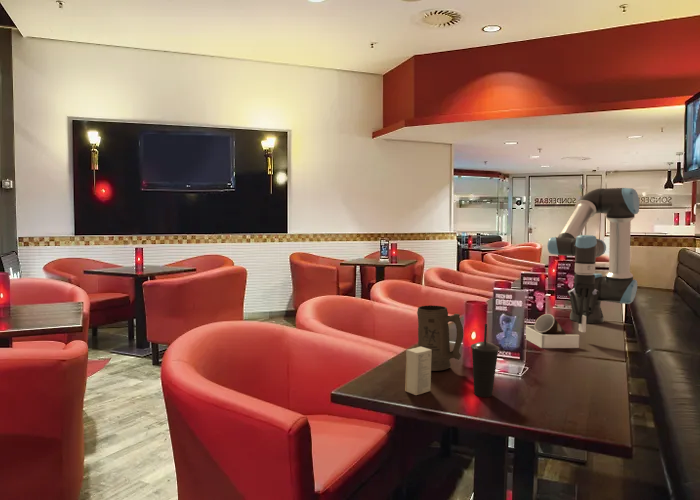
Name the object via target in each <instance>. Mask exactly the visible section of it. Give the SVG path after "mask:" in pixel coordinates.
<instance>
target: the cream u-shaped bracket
mask: <svg viewBox="0 0 700 500" xmlns="http://www.w3.org/2000/svg"><path fill="white" fill-rule="evenodd" d="M525 325H526V339H525V340H526V341H528V342H529V343H532V344H534V345H535V346H537V347H538V348H540V349H579V347H580V335H579V334H566V335H543V334H541V333H539V332H537V331H536V330H535V327H534V326H535V324H525Z"/></svg>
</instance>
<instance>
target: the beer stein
mask: <svg viewBox="0 0 700 500" xmlns="http://www.w3.org/2000/svg"><path fill="white" fill-rule="evenodd" d="M416 314H417V324H418V328H417V336H418V337H417V338H418V341H417V343H418V344H417V347H420V346H421V347H425V348H428V349H431V350H432V354H431V372H432V371H433V372H434V371H435V372H436V371H437V372H438V371H444V370H445V371H446V370H448V369H449V368H451V361H450V360H451V359H456V360H458V361H459V360H461V356H462V355H461V354H460V353H461V352H460V348H461V345H462V343H463V340H464V328H463V324H462V321H461V314H460V313H454V314H453V315H452V314H451V315H449V312H448V308H447V307H446V306H443V305H442V306H441V305H432V304H431V305H421V306H418V307H417V311H416ZM450 322H451V323H454V325H455V328H456V338H455V341H454V345H453V350H451V344H450V343H451V342H450V341H451V340H450V327H449V323H450Z"/></svg>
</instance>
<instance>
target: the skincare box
mask: <svg viewBox="0 0 700 500" xmlns="http://www.w3.org/2000/svg"><path fill="white" fill-rule="evenodd" d="M431 354H432V350H431V349H428V348H425V347H421V346H420V347H418V346H417V347H413V348H407V349H406V352H405V381H404V383H405V386H404V390H405V392H407V393H408V394H412V395H414V396H417V395H422V394H424V393H428V392H431V384H432V383H431V381H432V379H431V378H432V371H431Z"/></svg>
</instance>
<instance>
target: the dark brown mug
mask: <svg viewBox="0 0 700 500" xmlns="http://www.w3.org/2000/svg"><path fill="white" fill-rule="evenodd" d="M534 325H535V326H534V327H535V330H536V331H537V332H539V333H541V334H543V335H567V334H566V331H565V330H564V328H563V327H562V326H561V324H560V323H559V322H558V321H557V319H556V317H554V315H553V314H551V313H545V314H542V315H540V316H539V317H538V318H537V319H536V320H535V322H534Z"/></svg>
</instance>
